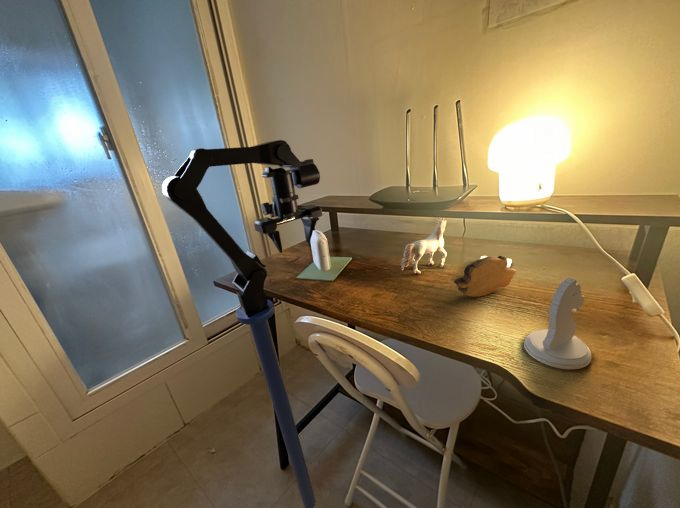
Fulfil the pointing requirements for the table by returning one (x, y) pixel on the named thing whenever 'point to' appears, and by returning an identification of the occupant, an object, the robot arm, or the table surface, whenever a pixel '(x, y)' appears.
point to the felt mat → (329, 275)
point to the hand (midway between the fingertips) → (294, 247)
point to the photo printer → (320, 250)
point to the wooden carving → (485, 276)
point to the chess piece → (561, 332)
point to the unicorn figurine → (426, 248)
